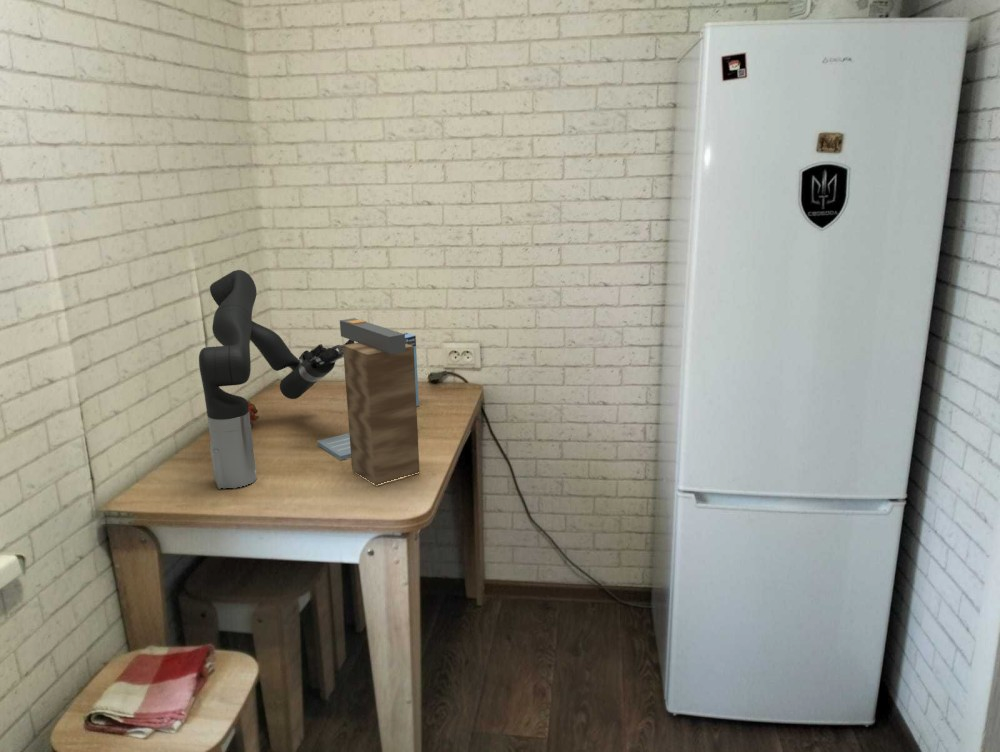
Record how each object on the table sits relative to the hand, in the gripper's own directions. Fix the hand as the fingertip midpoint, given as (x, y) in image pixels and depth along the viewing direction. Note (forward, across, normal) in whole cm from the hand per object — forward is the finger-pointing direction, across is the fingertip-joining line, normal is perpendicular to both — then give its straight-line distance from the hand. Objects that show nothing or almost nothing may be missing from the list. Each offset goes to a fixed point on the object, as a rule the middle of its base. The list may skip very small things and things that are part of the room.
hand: (337, 345), depth 189 cm
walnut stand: (+4, 0, +35) cm, 35 cm away
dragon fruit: (-43, -16, +8) cm, 46 cm away
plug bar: (+18, 0, +6) cm, 19 cm away
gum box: (-30, +24, +16) cm, 41 cm away
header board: (-14, 0, +25) cm, 28 cm away
